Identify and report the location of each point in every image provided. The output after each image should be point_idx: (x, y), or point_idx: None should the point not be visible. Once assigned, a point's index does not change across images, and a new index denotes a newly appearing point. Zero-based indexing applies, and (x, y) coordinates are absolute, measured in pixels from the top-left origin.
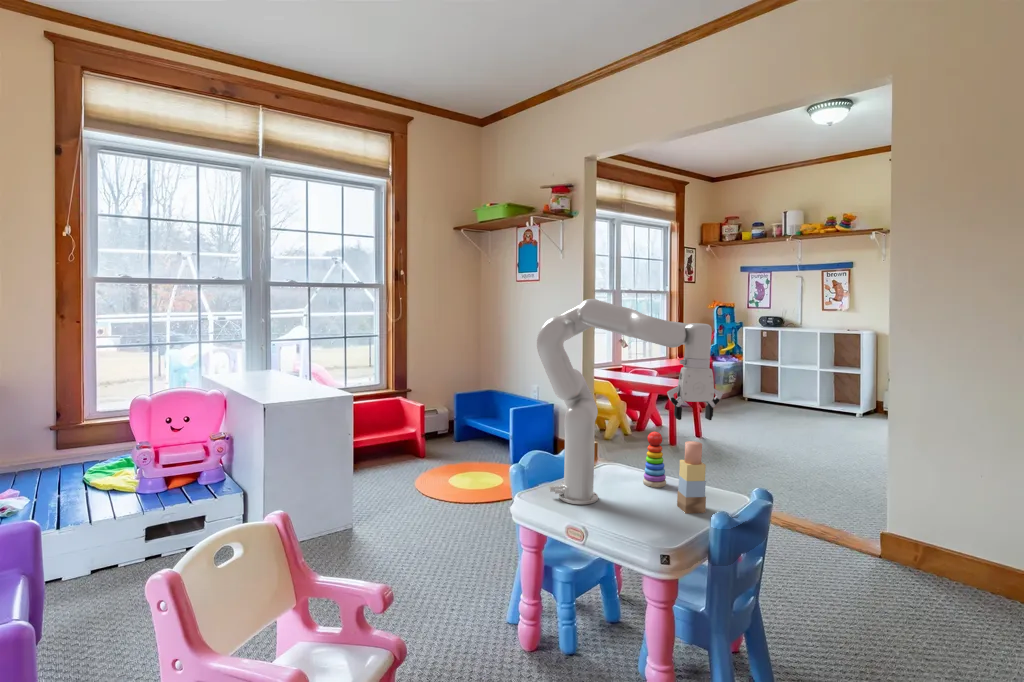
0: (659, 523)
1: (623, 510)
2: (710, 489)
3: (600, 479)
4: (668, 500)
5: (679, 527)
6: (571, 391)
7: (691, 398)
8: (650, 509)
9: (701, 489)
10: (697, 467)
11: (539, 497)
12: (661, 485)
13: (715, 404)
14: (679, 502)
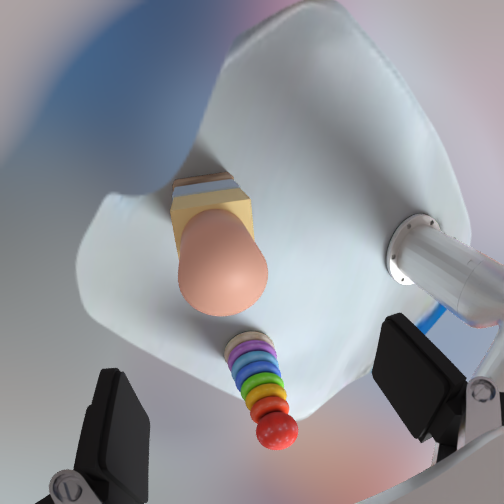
0: (307, 109)
1: (360, 186)
2: (129, 335)
3: (344, 353)
4: None
5: (268, 85)
6: None
7: (468, 492)
8: (304, 193)
9: (186, 188)
10: (204, 203)
11: None
12: (240, 335)
13: (51, 497)
14: None
